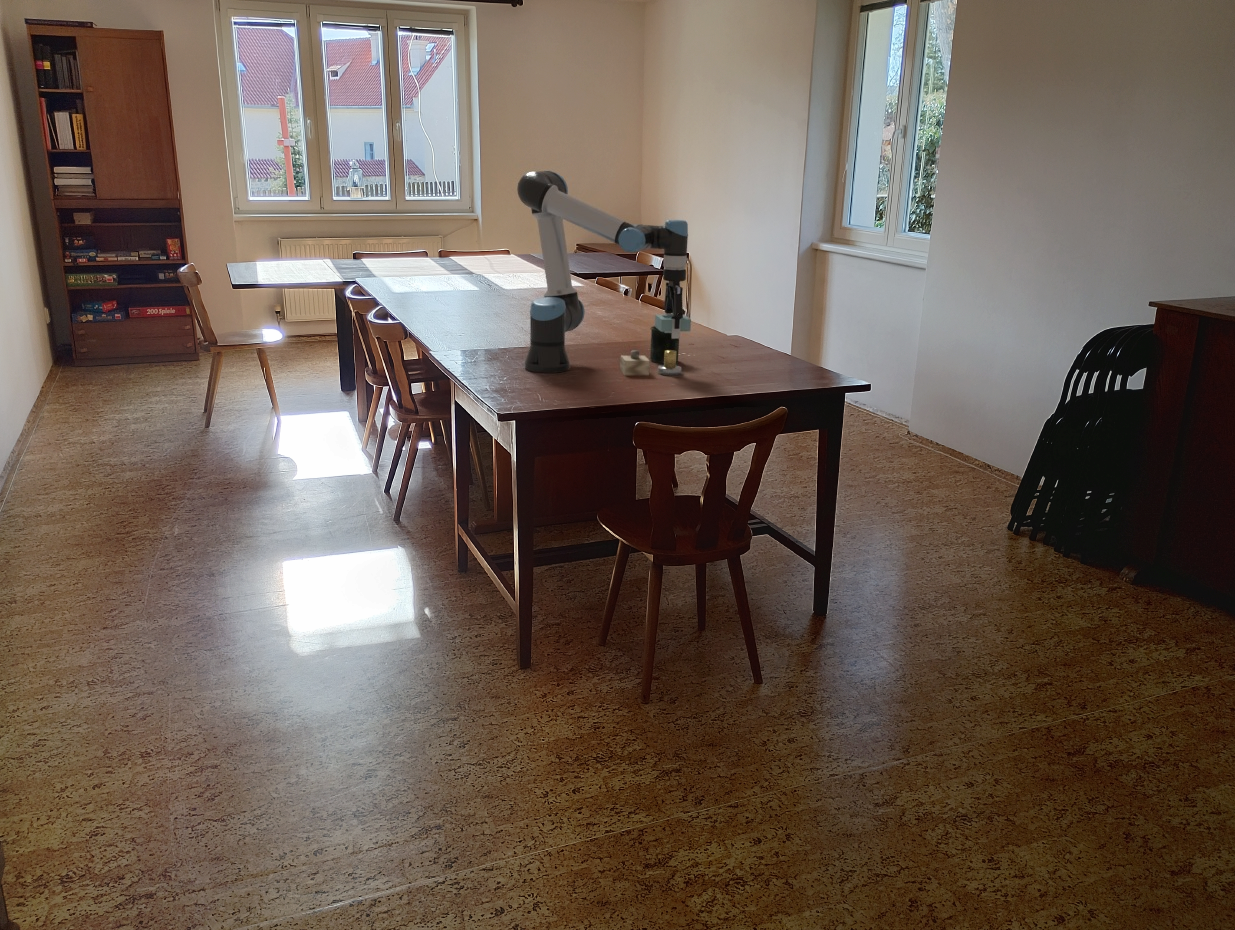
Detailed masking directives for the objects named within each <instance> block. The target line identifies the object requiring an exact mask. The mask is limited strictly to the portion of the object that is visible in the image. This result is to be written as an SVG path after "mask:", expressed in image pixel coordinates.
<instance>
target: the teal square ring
mask: <svg viewBox="0 0 1235 930" xmlns="http://www.w3.org/2000/svg"><path fill="white" fill-rule="evenodd" d="M672 316H673V315H665V314H654V326H655V327H656V328H657V329H658V330H660V331H661V332H672V319H671V317H672ZM691 323H692V318H690V317H688V316H686V315H685V314H683V318H681V326H680V332H691V328H692V327H691V326H692V324H691Z"/></svg>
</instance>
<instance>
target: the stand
mask: <svg viewBox="0 0 1235 930" xmlns="http://www.w3.org/2000/svg"><path fill="white" fill-rule="evenodd" d="M619 360H620V362H619V363H620V366H619V370H620V371H621V373H622V374H623V375H624V376H650V363H651V359H650V358H647V356H646V355H640V350H638V349H635V350H631V351H630V355H620V359H619Z"/></svg>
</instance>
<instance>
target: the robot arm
mask: <svg viewBox="0 0 1235 930" xmlns="http://www.w3.org/2000/svg"><path fill="white" fill-rule="evenodd" d="M568 193H569V189H568V185H567V181H566V180H565V179H564V177H563V176H562V175H561V174H559V173H557V172H555V171H551V170H542V171H541V170H540V171H539V170H538V171H537V170H535V171H533V170H532V171H529V172H526V173H524V174H523V175H522V176H521V178H520V179H519V181H518V183H517V195H518V198H519V200H520V201H521V202H522V203H523V205H525V206H527V207H528V208H530V209H531V215H532V216H533V217H534V218H535V219H536V220H537V228H538V234H539V240H540V246H541V253H542V261H543V266H544V275H545V281H546V282H545V283H546V287H547V290H546V292H545V293H544V294H543V297H540V298H535V299H534V300H533V301H532V302H531V303H530V310H529V316H530V317H529V318H530V322H529V323H530V324H529V325H530V326H529V327H530V330H529V331H530V337H529V339H530V341H529V342H530V345H529V349H528V352H527V355H526V357H525V358H526V359H525V361H524V369H526V370H527V371H529V372H533V373H543V374H551V373H552V374H554V373H555V374H556V373H564V372H566V371H569V370H570V359H569V356H568V353H567V349H566V347H565V344H566V340H565V339H566V334H565V333H568V332H571V331H574V330H575V329H576V328H578V327H579V326H580V325H581V324H582V323H583V320H584V318H585V314H586V313H585V312H586V311H585V306H584V304H583V301H581V300H580V299H579V295H578V291H577V289H576V288H574V286H573V283H572V278H571V271H570V264H569V263H570V262H569V254H568V249H567V241H566V234H565V227H564V221H563V220H565V221H567V222H568V223H571V224H572V225H575V226H577V227H579V228H582V229H584V230H586V231H588V232H591V233H592V234H594V235H597V236H599V237H601V238H603V239H605V240H607V241H609V242H612V243H614V244H616V245H618V246H619V247H620V248H621V249H622V250H623V251H624V252H626V253H632V254H633V253H637V252H639V251H643V250H647V249H648V250H649V249H650V250H651V249H653V250H657V249H658V250H663V264H662V265H663V267H664V268H663V273H662V275H663V276H662V279H663V281H665V291H664V292H665V293H664V303H663V311H664V315H673V316H672V317H671V319H672V332H665V333H672V339H674V338H679V339H681V331H680V326H681V318H683V315H684V313H683V311H684V309H683V291H684V290H683V289H684V288H683V287H682V286H681V283H680V282H685V281H686V279H687V270H686V268H687V262H688V261H689V258H688V257H687V256H688V255H687V254H688V242H689V241H688V240H689V238H688V237H689V232H688V231H689V230H688V229H689V228H688V225H689V224H688V222H687V220H682V219H667V220H665V221H664V223H665V224H664V225H650V224H643V223H642V224H631V223H629V222H626V220H625V221H624V220H623V219H620V218H619V217H616V216H614V215H612V214H610V213H608V212H605V211H603V210H601V209H599V208H597V207H594V206H593V205H591V204H588V203H586V202H584V201H582V200H579V199H578V198H575V197H573V196H571V195H569V194H568Z"/></svg>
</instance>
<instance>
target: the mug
mask: <svg viewBox="0 0 1235 930" xmlns="http://www.w3.org/2000/svg"><path fill="white" fill-rule="evenodd" d="M650 330H651V331H650V332H651V333H650V334H651V335H650V354H649V355H650V356H649V357H650V358H649V360H650V362H653V363H657V364H664V355H665V351H666V350H674V351H676V363H677V362H678V361H679V348H680V347H679V346H680V338H674V339H672V333H665V332H661V331H660V330H658V329H657V328H656V327H655V325H653V326H650Z"/></svg>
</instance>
